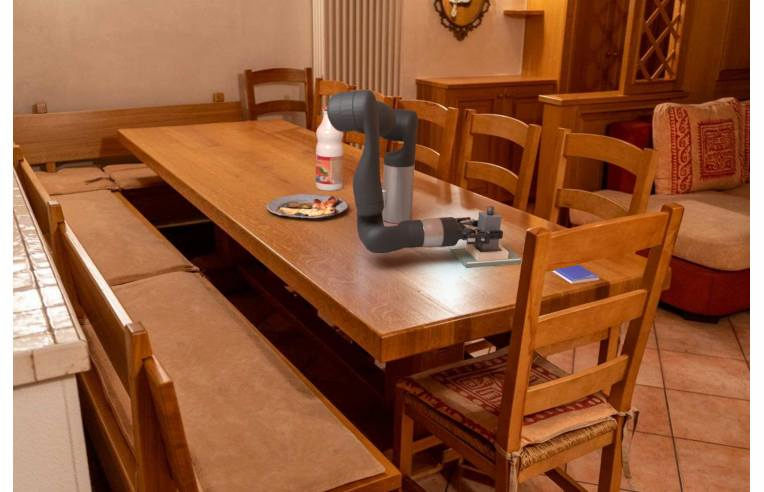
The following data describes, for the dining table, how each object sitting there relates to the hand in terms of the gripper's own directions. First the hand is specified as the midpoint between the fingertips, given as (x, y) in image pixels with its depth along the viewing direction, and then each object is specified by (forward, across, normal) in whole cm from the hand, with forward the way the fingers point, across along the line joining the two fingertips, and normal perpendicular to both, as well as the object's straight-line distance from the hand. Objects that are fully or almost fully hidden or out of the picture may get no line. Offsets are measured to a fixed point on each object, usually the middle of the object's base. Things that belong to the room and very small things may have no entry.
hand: (495, 228), depth 180 cm
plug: (-2, 0, +7) cm, 7 cm away
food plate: (-41, +48, +8) cm, 64 cm away
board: (-2, 0, +8) cm, 8 cm away
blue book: (+16, -13, +9) cm, 22 cm away
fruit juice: (-30, +73, +8) cm, 79 cm away
